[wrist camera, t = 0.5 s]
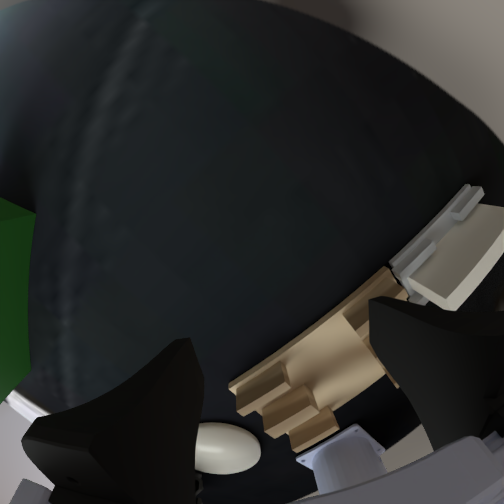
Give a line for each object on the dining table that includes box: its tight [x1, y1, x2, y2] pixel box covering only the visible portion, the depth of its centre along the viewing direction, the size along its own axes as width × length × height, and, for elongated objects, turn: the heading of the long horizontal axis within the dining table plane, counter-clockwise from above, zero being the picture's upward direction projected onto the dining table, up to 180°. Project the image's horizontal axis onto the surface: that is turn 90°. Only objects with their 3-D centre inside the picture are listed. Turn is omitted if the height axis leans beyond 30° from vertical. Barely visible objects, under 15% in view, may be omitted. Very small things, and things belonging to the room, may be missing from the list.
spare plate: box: [195, 422, 261, 474], centre depth 24 cm, size 9×9×1 cm
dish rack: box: [229, 266, 409, 453], centre depth 21 cm, size 9×16×4 cm, turn 129°
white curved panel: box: [407, 203, 504, 311], centre depth 17 cm, size 2×10×6 cm, turn 129°
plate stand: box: [389, 184, 484, 305], centre depth 20 cm, size 5×12×2 cm, turn 129°
